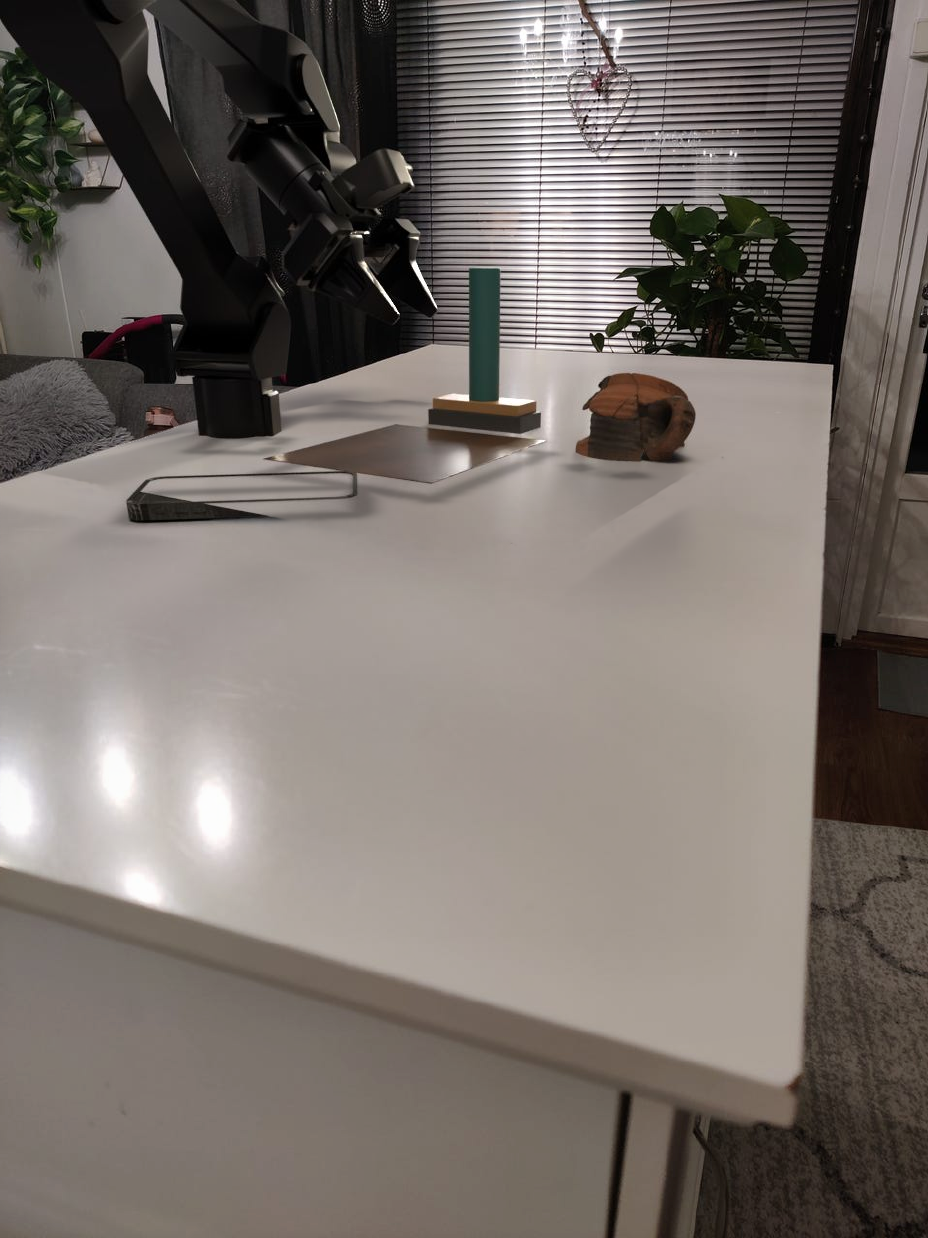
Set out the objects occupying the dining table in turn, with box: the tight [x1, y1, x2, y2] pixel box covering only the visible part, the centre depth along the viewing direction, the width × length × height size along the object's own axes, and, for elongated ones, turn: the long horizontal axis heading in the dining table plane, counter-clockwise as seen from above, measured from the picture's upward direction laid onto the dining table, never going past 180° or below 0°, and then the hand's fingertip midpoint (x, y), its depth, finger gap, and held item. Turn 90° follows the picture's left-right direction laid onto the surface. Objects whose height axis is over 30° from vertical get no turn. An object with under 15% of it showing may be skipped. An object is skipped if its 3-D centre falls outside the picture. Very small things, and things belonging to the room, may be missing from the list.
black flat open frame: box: [125, 470, 358, 521], centre depth 61 cm, size 8×1×15 cm
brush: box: [427, 267, 542, 435], centre depth 80 cm, size 10×4×14 cm, turn 58°
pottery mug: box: [575, 372, 697, 463], centre depth 71 cm, size 12×10×8 cm
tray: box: [263, 423, 547, 485], centre depth 73 cm, size 16×18×1 cm
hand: (416, 317), depth 82 cm, fingers open, 9 cm apart
